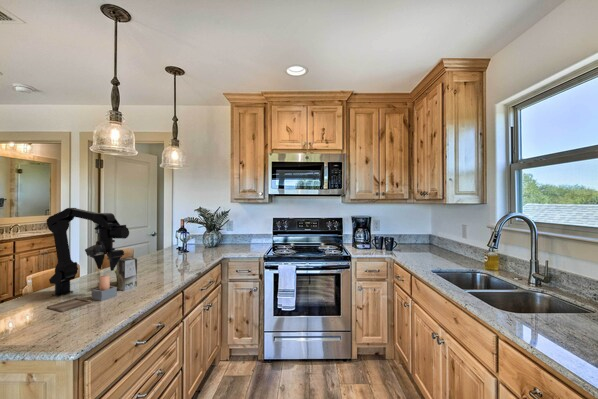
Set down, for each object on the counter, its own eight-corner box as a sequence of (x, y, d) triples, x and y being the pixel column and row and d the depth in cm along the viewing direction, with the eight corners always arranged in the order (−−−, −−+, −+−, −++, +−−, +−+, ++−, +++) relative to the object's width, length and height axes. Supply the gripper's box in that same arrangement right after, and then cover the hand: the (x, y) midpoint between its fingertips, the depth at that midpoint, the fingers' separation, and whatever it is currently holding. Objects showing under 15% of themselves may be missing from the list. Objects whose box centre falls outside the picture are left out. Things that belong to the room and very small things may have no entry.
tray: (46, 309, 115) (46, 306, 115) (76, 300, 126) (76, 297, 126) (62, 313, 111) (62, 310, 111) (92, 304, 122) (92, 300, 122)
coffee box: (137, 288, 143) (137, 258, 143) (124, 292, 137) (124, 260, 138) (128, 285, 148) (129, 256, 148) (115, 289, 142) (116, 258, 142)
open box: (91, 300, 126) (91, 289, 126) (107, 295, 133) (107, 285, 133) (101, 302, 124) (101, 291, 124) (116, 297, 130) (116, 287, 130)
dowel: (97, 298, 127) (97, 277, 127) (105, 295, 131) (106, 275, 131) (102, 299, 125) (103, 278, 126) (111, 296, 129) (111, 275, 129)
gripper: (75, 239, 130) (75, 272, 130) (101, 241, 123) (101, 275, 123) (99, 236, 140) (99, 266, 140) (124, 238, 134) (124, 269, 133)
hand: (105, 269), depth 134 cm, fingers open, 9 cm apart
